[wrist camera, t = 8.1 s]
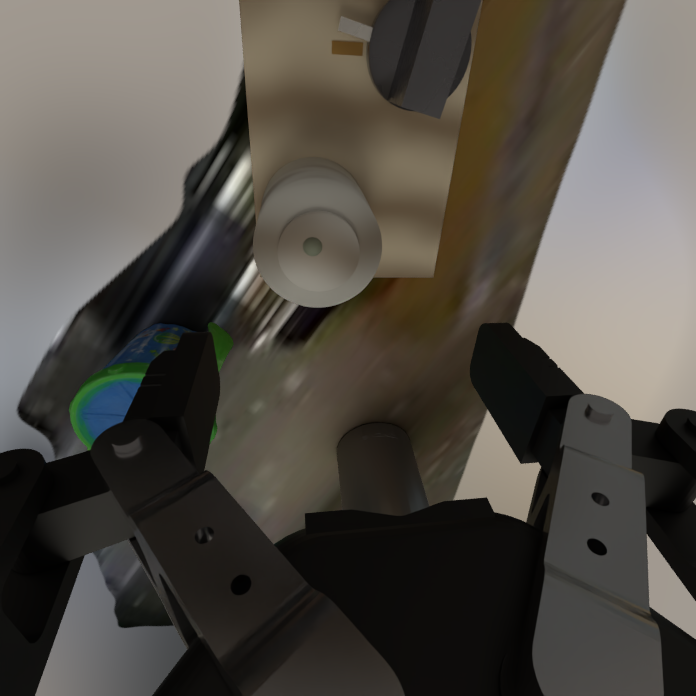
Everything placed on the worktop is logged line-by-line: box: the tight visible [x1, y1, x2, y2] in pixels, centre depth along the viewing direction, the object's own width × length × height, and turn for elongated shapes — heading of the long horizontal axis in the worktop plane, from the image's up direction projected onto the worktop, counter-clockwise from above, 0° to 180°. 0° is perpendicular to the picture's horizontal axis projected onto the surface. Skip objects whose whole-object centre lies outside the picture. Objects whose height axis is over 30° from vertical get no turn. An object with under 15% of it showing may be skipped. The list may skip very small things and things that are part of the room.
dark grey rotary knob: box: [337, 0, 482, 119], centre depth 24 cm, size 8×6×6 cm
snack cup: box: [69, 322, 233, 450], centre depth 37 cm, size 16×10×10 cm
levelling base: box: [239, 0, 483, 307], centre depth 26 cm, size 24×15×11 cm, turn 177°
